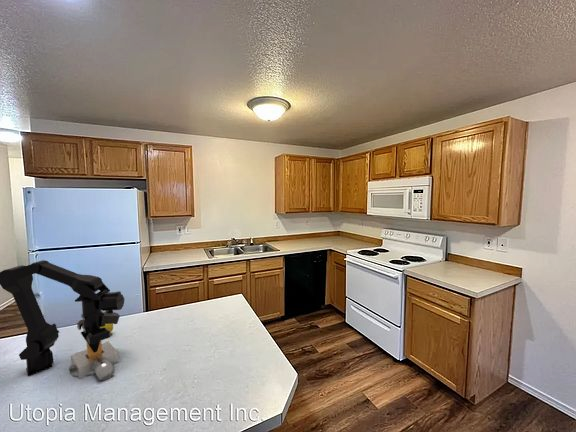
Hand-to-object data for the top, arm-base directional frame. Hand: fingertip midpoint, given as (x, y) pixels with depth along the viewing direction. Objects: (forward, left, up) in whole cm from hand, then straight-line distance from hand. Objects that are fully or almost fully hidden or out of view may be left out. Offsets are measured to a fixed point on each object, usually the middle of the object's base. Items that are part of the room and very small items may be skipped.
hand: (94, 350), depth 96 cm
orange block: (0, 0, -3) cm, 3 cm away
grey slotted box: (0, -3, -5) cm, 6 cm away
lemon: (+9, +20, -5) cm, 23 cm away
